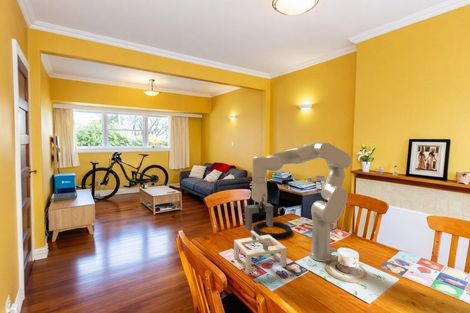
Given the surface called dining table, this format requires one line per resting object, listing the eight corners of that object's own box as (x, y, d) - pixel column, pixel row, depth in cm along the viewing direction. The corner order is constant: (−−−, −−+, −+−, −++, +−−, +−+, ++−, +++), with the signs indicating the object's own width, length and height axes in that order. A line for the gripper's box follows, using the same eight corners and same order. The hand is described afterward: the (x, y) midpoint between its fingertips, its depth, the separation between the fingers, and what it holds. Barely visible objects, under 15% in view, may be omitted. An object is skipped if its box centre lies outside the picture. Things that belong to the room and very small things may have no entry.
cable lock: (296, 224, 182) (284, 238, 156) (296, 229, 183) (284, 244, 156) (261, 218, 195) (245, 230, 169) (261, 223, 196) (245, 236, 169)
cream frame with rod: (268, 250, 147) (269, 227, 145) (286, 266, 129) (286, 240, 128) (234, 257, 139) (234, 232, 138) (247, 274, 121) (247, 246, 120)
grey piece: (249, 230, 128) (249, 208, 127) (245, 227, 132) (245, 205, 131) (273, 227, 132) (273, 205, 132) (268, 224, 137) (268, 203, 136)
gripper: (246, 177, 137) (246, 209, 138) (260, 183, 121) (260, 219, 123) (258, 177, 140) (258, 208, 141) (273, 182, 124) (273, 217, 125)
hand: (259, 213), depth 132 cm, fingers closed on grey piece, 5 cm apart
